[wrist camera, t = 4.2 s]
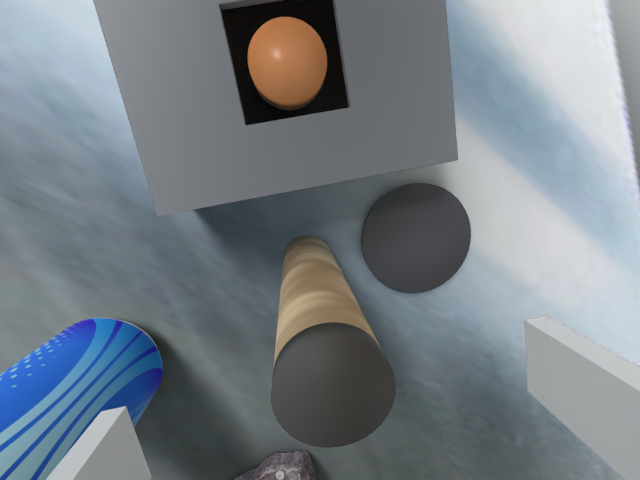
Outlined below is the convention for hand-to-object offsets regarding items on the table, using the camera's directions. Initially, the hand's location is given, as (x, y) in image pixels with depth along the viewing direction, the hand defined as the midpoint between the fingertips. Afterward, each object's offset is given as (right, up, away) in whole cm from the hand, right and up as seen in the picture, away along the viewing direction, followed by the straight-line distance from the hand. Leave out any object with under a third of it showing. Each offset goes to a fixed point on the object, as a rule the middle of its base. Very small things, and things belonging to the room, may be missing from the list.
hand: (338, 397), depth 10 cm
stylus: (-2, +4, +15) cm, 16 cm away
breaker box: (-3, +16, +13) cm, 21 cm away
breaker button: (-3, +15, +9) cm, 18 cm away
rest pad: (+7, +5, +16) cm, 18 cm away
